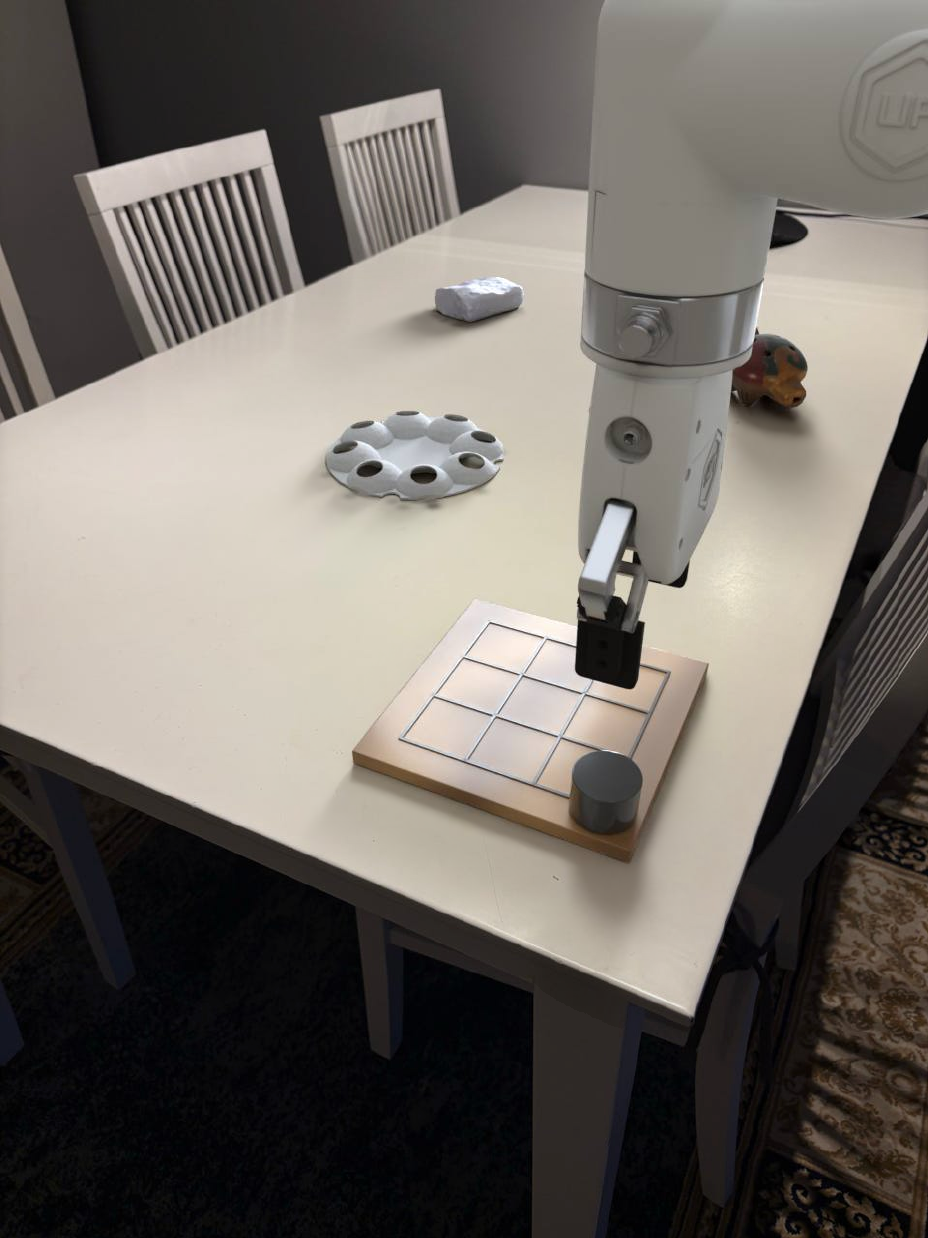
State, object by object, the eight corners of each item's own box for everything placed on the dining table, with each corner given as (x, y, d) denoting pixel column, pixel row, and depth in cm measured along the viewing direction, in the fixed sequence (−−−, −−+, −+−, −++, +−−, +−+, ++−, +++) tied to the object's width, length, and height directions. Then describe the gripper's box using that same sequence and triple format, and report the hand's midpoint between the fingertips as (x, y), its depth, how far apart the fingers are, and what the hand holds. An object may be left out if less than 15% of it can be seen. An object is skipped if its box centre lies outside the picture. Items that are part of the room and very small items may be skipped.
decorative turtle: (748, 369, 120) (765, 309, 115) (825, 421, 110) (847, 358, 104) (687, 377, 117) (701, 316, 112) (760, 432, 106) (780, 367, 101)
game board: (706, 674, 71) (709, 661, 70) (629, 864, 56) (631, 850, 56) (474, 609, 78) (474, 596, 77) (352, 763, 63) (351, 749, 63)
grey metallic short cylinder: (646, 795, 59) (651, 763, 57) (625, 844, 56) (630, 811, 54) (582, 774, 61) (585, 741, 59) (558, 820, 58) (561, 787, 56)
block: (429, 320, 141) (471, 323, 134) (425, 287, 139) (467, 289, 131) (486, 306, 147) (529, 308, 140) (483, 275, 145) (526, 275, 138)
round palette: (329, 506, 92) (327, 489, 90) (323, 424, 107) (322, 408, 106) (519, 492, 94) (520, 474, 93) (487, 413, 109) (487, 397, 108)
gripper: (707, 402, 32) (657, 749, 42) (790, 269, 45) (736, 562, 55) (511, 372, 35) (509, 705, 45) (641, 255, 47) (616, 537, 58)
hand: (633, 626), depth 50 cm, fingers open, 9 cm apart
